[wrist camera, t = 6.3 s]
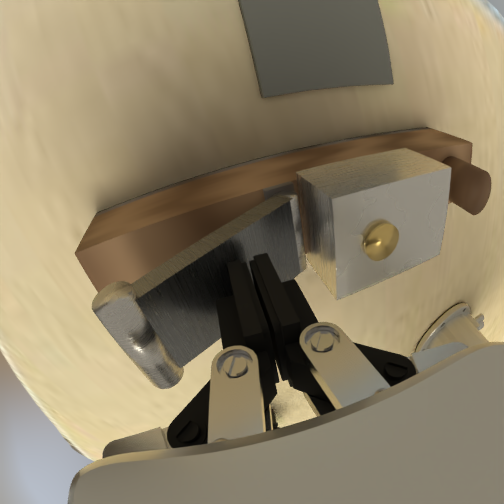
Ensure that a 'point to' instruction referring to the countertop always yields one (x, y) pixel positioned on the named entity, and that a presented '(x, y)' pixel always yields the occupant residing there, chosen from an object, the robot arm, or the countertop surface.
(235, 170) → the plane body
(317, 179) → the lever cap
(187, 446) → the robot arm
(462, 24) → the countertop surface
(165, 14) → the countertop surface
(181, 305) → the lever
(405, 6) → the countertop surface
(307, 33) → the mat
